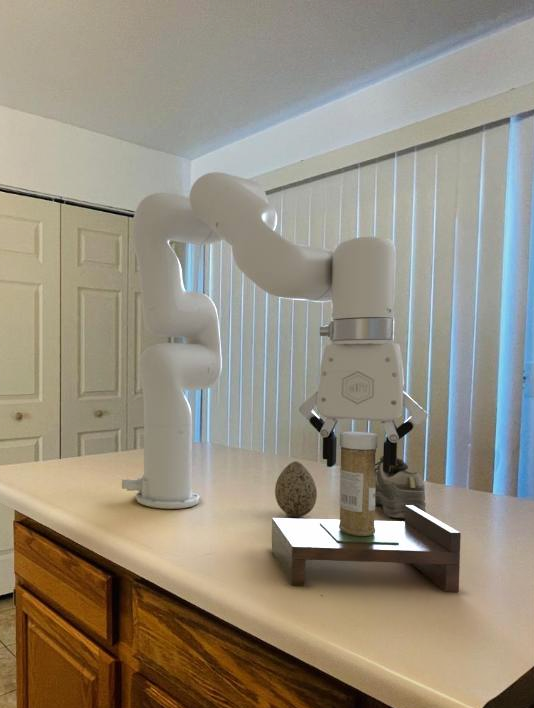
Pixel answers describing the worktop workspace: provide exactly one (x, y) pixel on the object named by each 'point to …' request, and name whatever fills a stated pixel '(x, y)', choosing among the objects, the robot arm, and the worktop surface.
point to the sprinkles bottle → (357, 483)
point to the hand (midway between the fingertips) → (358, 466)
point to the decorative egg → (295, 490)
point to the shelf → (371, 545)
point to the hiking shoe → (398, 489)
